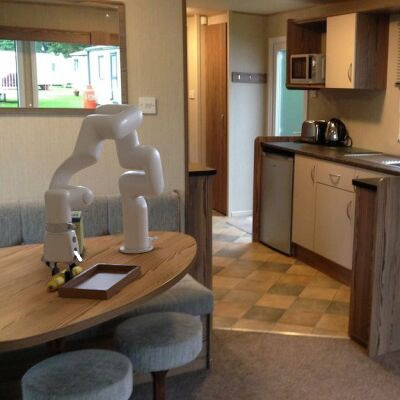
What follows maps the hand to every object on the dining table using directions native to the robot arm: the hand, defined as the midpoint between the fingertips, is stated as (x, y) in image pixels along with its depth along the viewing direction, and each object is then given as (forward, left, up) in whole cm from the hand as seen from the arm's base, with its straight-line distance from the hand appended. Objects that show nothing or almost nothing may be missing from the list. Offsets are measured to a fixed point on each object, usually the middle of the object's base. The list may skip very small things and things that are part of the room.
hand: (62, 280), depth 184 cm
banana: (0, 0, -1) cm, 1 cm away
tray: (-7, +12, -1) cm, 14 cm away
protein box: (-20, -29, -1) cm, 35 cm away
